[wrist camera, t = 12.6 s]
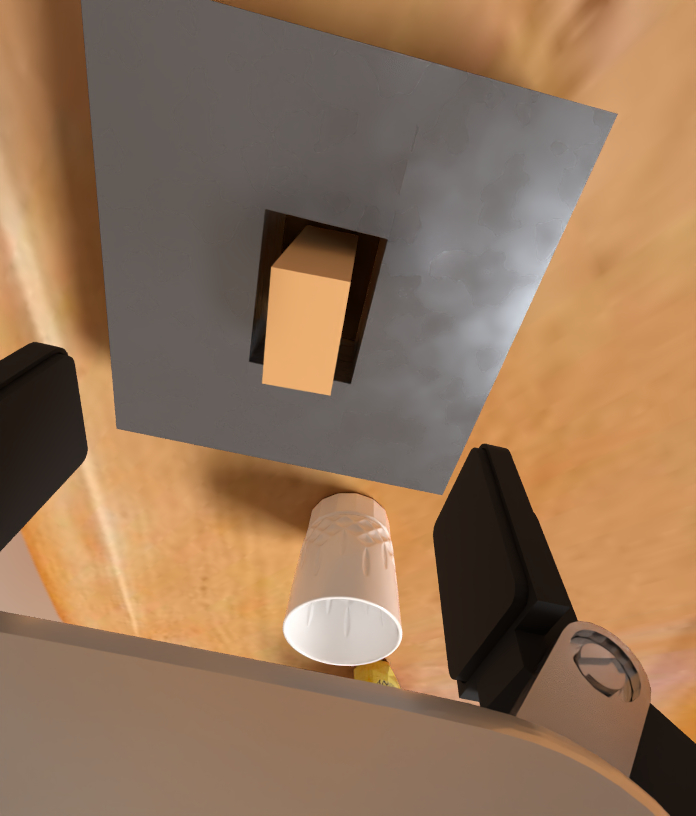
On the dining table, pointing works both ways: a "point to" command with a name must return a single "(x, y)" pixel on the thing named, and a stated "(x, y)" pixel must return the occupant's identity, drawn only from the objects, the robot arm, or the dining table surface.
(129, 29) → the collar
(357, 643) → the white cup
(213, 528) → the dining table surface
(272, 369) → the tall tan wooden block
